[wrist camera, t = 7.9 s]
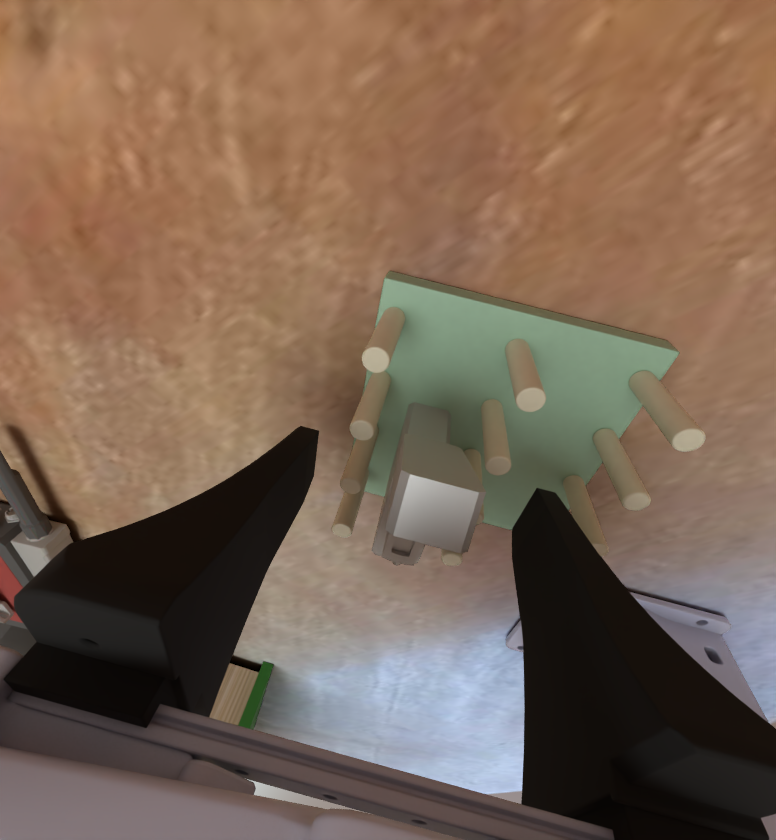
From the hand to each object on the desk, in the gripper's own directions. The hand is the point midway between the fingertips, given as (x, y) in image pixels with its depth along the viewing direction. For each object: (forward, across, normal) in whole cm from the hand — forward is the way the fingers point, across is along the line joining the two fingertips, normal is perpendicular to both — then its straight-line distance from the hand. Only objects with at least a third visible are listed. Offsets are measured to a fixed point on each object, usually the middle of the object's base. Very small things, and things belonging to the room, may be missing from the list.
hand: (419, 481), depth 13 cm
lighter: (+4, 0, 0) cm, 4 cm away
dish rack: (+5, -2, 0) cm, 5 cm away
